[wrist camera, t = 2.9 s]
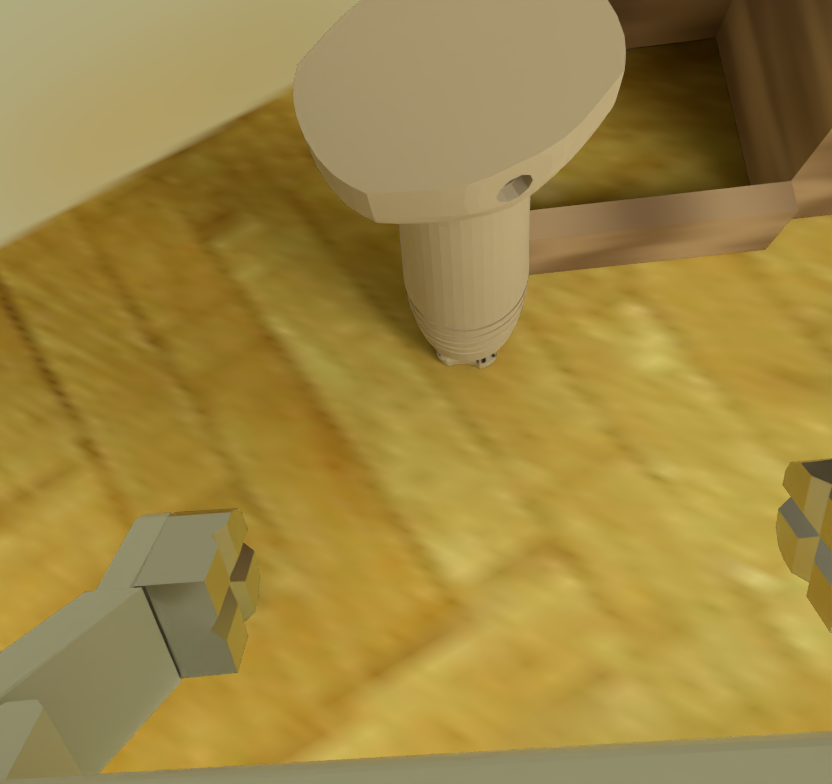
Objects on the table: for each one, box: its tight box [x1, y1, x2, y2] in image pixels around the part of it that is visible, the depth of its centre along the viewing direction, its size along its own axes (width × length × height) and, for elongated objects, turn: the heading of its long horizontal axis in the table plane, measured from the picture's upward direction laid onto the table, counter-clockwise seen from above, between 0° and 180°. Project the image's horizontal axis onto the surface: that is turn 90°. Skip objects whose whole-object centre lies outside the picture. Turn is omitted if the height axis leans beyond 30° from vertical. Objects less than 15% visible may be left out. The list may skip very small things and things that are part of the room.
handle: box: [293, 0, 626, 369], centre depth 20 cm, size 5×6×15 cm
